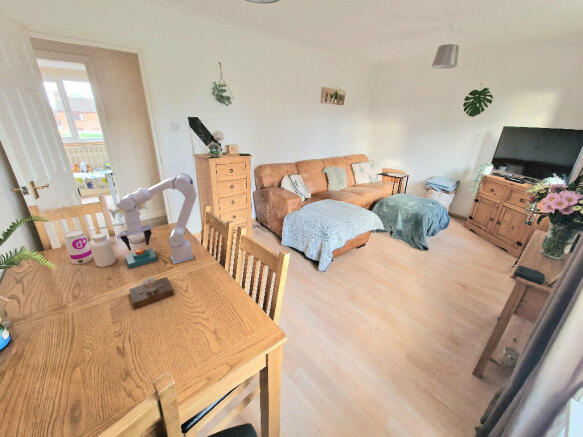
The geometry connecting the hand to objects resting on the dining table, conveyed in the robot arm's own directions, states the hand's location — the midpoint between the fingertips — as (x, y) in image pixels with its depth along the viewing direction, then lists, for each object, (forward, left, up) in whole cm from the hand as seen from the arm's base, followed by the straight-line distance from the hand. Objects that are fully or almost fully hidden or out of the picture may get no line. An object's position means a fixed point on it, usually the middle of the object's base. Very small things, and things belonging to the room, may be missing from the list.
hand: (138, 247), depth 115 cm
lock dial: (+1, +29, -6) cm, 29 cm away
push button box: (0, -2, -9) cm, 9 cm away
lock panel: (+1, +29, -9) cm, 30 cm away
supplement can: (+23, -18, -9) cm, 31 cm away
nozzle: (0, -2, -5) cm, 5 cm away
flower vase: (-1, -26, -9) cm, 28 cm away
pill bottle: (+14, -9, -9) cm, 19 cm away
